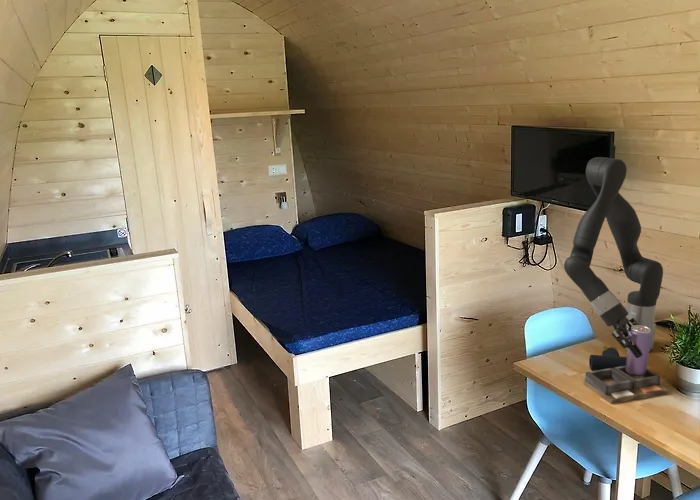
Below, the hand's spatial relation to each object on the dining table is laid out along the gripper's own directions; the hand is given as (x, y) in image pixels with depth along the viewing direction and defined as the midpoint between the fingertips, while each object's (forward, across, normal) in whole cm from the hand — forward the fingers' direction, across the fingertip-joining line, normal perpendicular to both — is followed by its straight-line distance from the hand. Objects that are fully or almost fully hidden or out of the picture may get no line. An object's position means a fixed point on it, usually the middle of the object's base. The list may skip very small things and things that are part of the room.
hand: (643, 353), depth 181 cm
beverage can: (+4, 0, +6) cm, 8 cm away
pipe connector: (0, +9, +17) cm, 19 cm away
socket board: (+6, -5, +10) cm, 13 cm away
